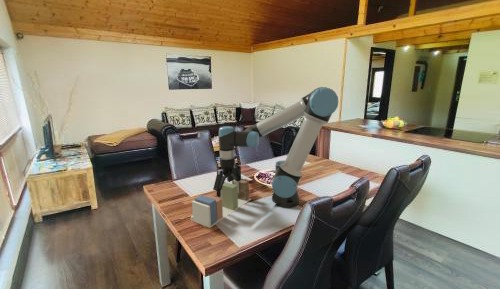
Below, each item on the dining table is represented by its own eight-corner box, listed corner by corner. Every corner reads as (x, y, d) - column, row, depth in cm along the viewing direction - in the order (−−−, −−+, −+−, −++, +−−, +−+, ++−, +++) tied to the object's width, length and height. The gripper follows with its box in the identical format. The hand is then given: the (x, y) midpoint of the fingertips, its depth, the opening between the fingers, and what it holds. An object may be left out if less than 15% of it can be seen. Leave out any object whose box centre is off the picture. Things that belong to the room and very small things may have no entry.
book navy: (217, 221, 118) (216, 199, 116) (210, 225, 115) (209, 203, 112) (202, 216, 123) (201, 195, 121) (196, 220, 120) (194, 198, 117)
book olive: (237, 206, 132) (237, 185, 129) (233, 210, 129) (232, 188, 126) (224, 202, 137) (223, 181, 134) (219, 205, 133) (218, 184, 131)
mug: (234, 185, 164) (234, 171, 161) (224, 179, 173) (224, 167, 170) (246, 181, 169) (246, 168, 167) (235, 176, 178) (235, 164, 176)
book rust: (222, 216, 122) (222, 198, 120) (217, 220, 119) (216, 201, 117) (210, 212, 127) (209, 194, 124) (204, 215, 123) (203, 197, 121)
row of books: (251, 201, 141) (251, 182, 138) (210, 230, 113) (208, 207, 111) (234, 196, 147) (233, 178, 145) (191, 222, 120) (189, 200, 117)
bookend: (248, 198, 141) (248, 182, 139) (245, 200, 139) (245, 183, 136) (235, 195, 146) (235, 178, 144) (232, 197, 143) (232, 180, 141)
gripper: (236, 151, 139) (236, 187, 144) (204, 162, 118) (206, 204, 123) (247, 152, 134) (248, 190, 139) (216, 165, 114) (218, 208, 119)
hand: (228, 196), depth 131 cm, fingers open, 13 cm apart
